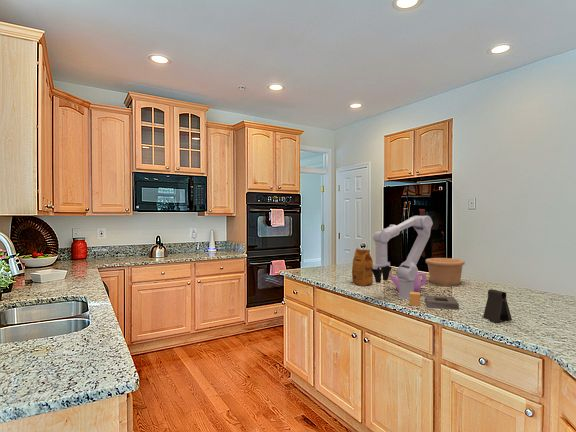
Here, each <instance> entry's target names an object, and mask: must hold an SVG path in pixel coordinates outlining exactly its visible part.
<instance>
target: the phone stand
mask: <svg viewBox="0 0 576 432" xmlns="http://www.w3.org/2000/svg"><path fill="white" fill-rule="evenodd" d="M482 319H485V320H488V321H487V322H491V323H494V324H500V322H502V323H506V322H505V321H507V322H511V321H510V320H512V321H513V319H512V315H511V311H510V308H509V304H508V300H507V293H506V292H505V291H502V290H497V289H493V288H489V289H488V290H487V299H486V304H485V308H484V312H483V315H482Z"/></svg>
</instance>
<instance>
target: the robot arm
mask: <svg viewBox="0 0 576 432" xmlns="http://www.w3.org/2000/svg"><path fill="white" fill-rule="evenodd" d="M433 224H434V222H433V219H432V217H431V216H430V215H413V216H411V217H409V218H408V219H405V220H404V221H402V222H401V223H399V224H397V225H396V224H389V226H387V227H386V228H382V229H381V231H380V230H377V231H376V232H375V233H374V234H373V236H372V239H373V241H374V243H375V263H374V264H373V268H371V270H372V272H373V276H374V277H373V278H374V280H375V283H376V284H381V282H382V280H383V281H388V280H389V278H390V277H389V274H391V273H390V272H391V270H392V269H393V266H391V261H388V242H389V241H390V240H391V239H392V238H395V237H396V236H399V235H400V234H401V231H405V230H406V229H408V228H410V227H412V228H414V231H416V233H417V236H416V239H415V241H414V243H413V245H412V247H411V249H410V251H409V253H408V255H407V257H406V260H405V261H403V262H402V263H400V265H399V266H398V267H397V268H396V270H395V275H396V278H397V277H398V279H399V291H398V294H397V296H398V299H407V300H410V292H414V280H415V279H416V276H417V272H418V271H419V269H418V267H417V264H418V262H419V260H420V258H421V256H422V253H423V251H424V249H425V247H426V246H427V243H428V241H429V239H430V237H431V231H432V230H431V229H432V228H433V227H432V226H433Z"/></svg>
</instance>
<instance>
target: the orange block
mask: <svg viewBox="0 0 576 432" xmlns="http://www.w3.org/2000/svg"><path fill="white" fill-rule="evenodd" d="M409 306H413V307H421V291H420V292H410V299H409Z"/></svg>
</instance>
